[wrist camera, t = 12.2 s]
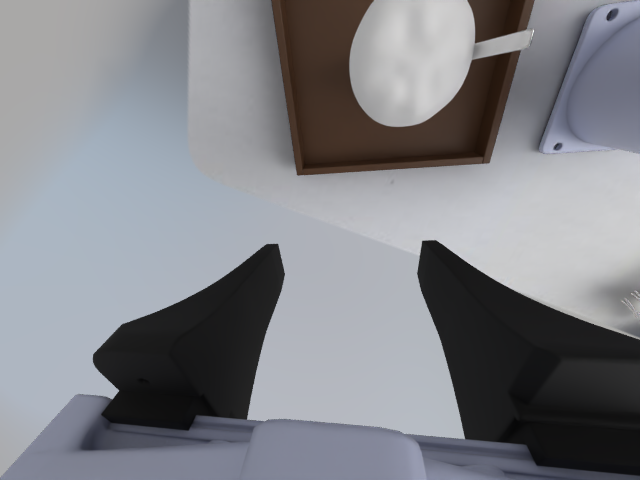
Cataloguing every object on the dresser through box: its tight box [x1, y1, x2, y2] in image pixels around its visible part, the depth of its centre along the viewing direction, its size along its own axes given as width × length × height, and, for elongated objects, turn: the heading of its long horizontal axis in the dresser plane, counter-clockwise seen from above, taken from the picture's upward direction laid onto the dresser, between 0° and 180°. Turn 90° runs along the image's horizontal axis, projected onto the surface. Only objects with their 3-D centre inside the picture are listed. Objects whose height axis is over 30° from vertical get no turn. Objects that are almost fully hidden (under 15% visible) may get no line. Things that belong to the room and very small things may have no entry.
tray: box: [271, 0, 535, 175], centre depth 15 cm, size 14×12×2 cm
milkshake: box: [349, 0, 534, 127], centre depth 11 cm, size 4×5×10 cm
